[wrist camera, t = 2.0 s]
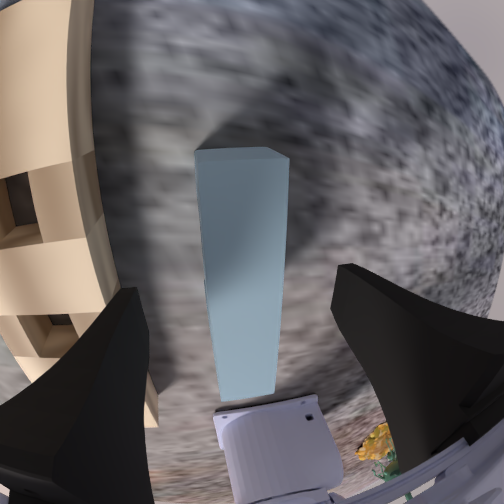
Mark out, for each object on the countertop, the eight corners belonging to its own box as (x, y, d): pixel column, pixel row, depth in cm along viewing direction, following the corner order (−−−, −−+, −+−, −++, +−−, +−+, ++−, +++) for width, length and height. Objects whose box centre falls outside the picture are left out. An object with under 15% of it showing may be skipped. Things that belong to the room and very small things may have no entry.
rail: (94, 0, 8) (75, -21, 5) (158, 395, 20) (158, 427, 18) (-26, 51, 7) (-57, 48, 4) (70, 395, 19) (64, 423, 16)
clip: (245, 136, 13) (289, 158, 7) (247, 308, 18) (274, 393, 12) (193, 138, 13) (197, 162, 7) (207, 313, 17) (221, 401, 12)
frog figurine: (353, 464, 42) (379, 522, 28) (347, 425, 35) (386, 507, 21) (397, 442, 42) (428, 497, 29) (405, 397, 35) (452, 468, 21)
